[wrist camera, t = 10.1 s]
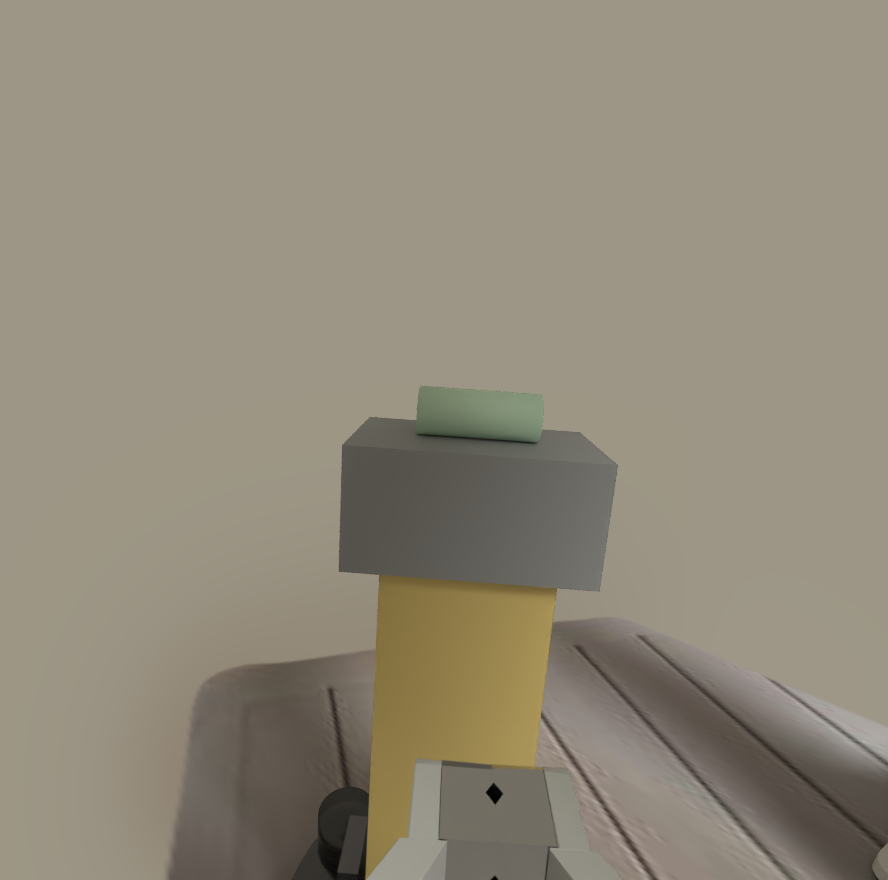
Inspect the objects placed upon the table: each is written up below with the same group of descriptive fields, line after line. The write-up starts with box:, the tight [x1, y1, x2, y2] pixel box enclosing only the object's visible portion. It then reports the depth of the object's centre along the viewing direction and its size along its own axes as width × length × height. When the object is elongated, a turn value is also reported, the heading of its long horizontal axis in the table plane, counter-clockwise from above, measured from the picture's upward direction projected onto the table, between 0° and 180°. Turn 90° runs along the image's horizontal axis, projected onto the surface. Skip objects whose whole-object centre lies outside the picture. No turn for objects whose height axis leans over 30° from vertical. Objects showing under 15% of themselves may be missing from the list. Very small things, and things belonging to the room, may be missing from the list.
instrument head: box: [339, 386, 618, 880], centre depth 25 cm, size 8×10×26 cm
